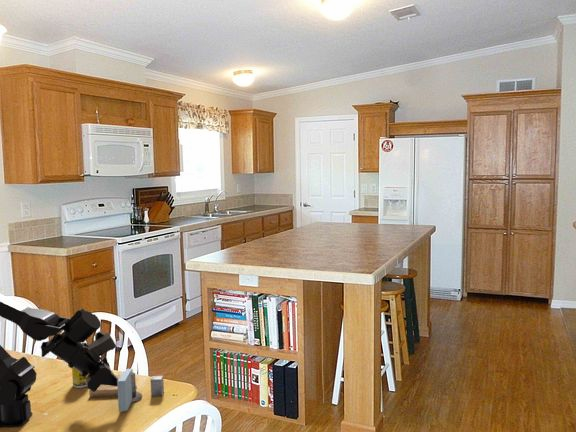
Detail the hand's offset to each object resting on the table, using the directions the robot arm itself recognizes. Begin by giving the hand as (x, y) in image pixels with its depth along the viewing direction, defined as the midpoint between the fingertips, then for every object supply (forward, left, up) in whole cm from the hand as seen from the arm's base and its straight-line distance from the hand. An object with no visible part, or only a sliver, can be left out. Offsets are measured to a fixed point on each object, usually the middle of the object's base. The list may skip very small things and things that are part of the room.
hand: (119, 384), depth 134 cm
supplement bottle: (-16, +17, -7) cm, 24 cm away
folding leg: (+1, +2, -6) cm, 6 cm away
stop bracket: (+8, +8, -7) cm, 13 cm away
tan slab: (-3, +10, -7) cm, 13 cm away
